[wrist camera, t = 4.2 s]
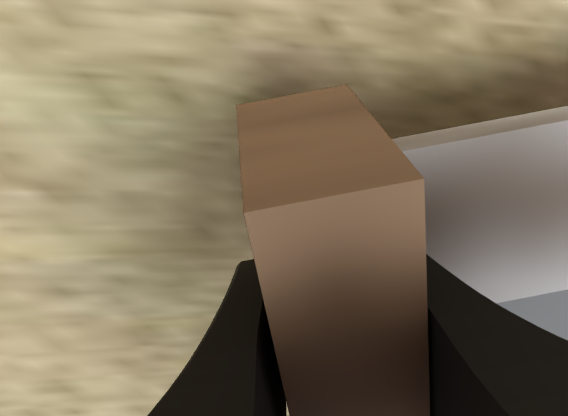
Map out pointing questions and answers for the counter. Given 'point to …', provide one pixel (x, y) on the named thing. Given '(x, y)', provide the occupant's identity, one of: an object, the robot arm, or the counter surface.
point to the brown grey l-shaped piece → (389, 237)
